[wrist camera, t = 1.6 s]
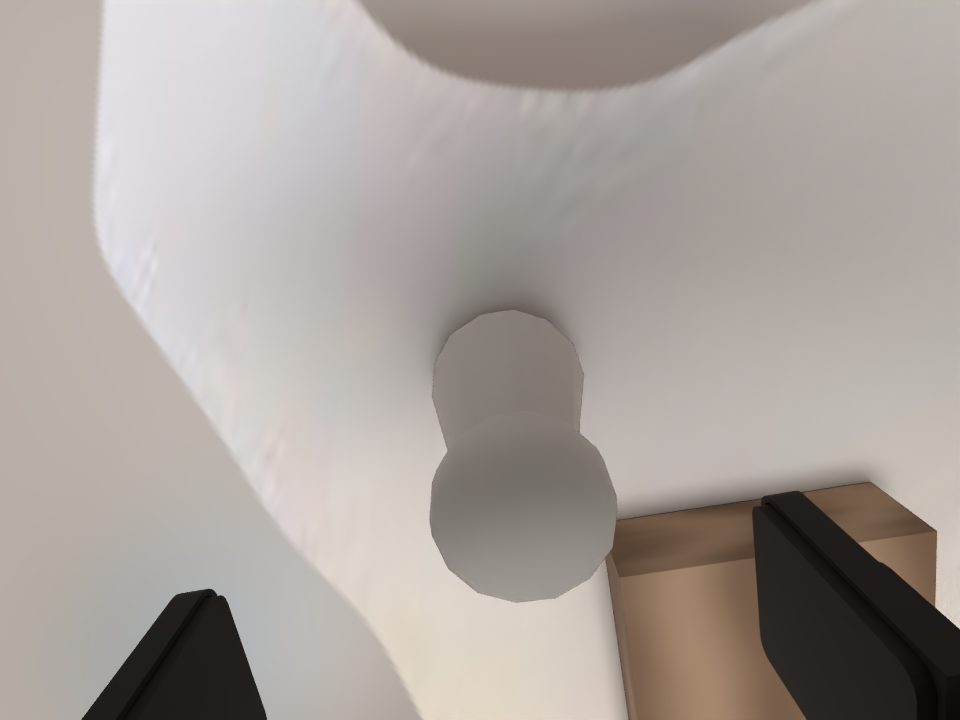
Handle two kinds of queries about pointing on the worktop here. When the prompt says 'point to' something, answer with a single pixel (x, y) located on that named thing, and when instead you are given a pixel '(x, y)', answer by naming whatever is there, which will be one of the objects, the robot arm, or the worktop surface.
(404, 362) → the worktop surface
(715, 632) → the walnut riser block
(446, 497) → the salt shaker
